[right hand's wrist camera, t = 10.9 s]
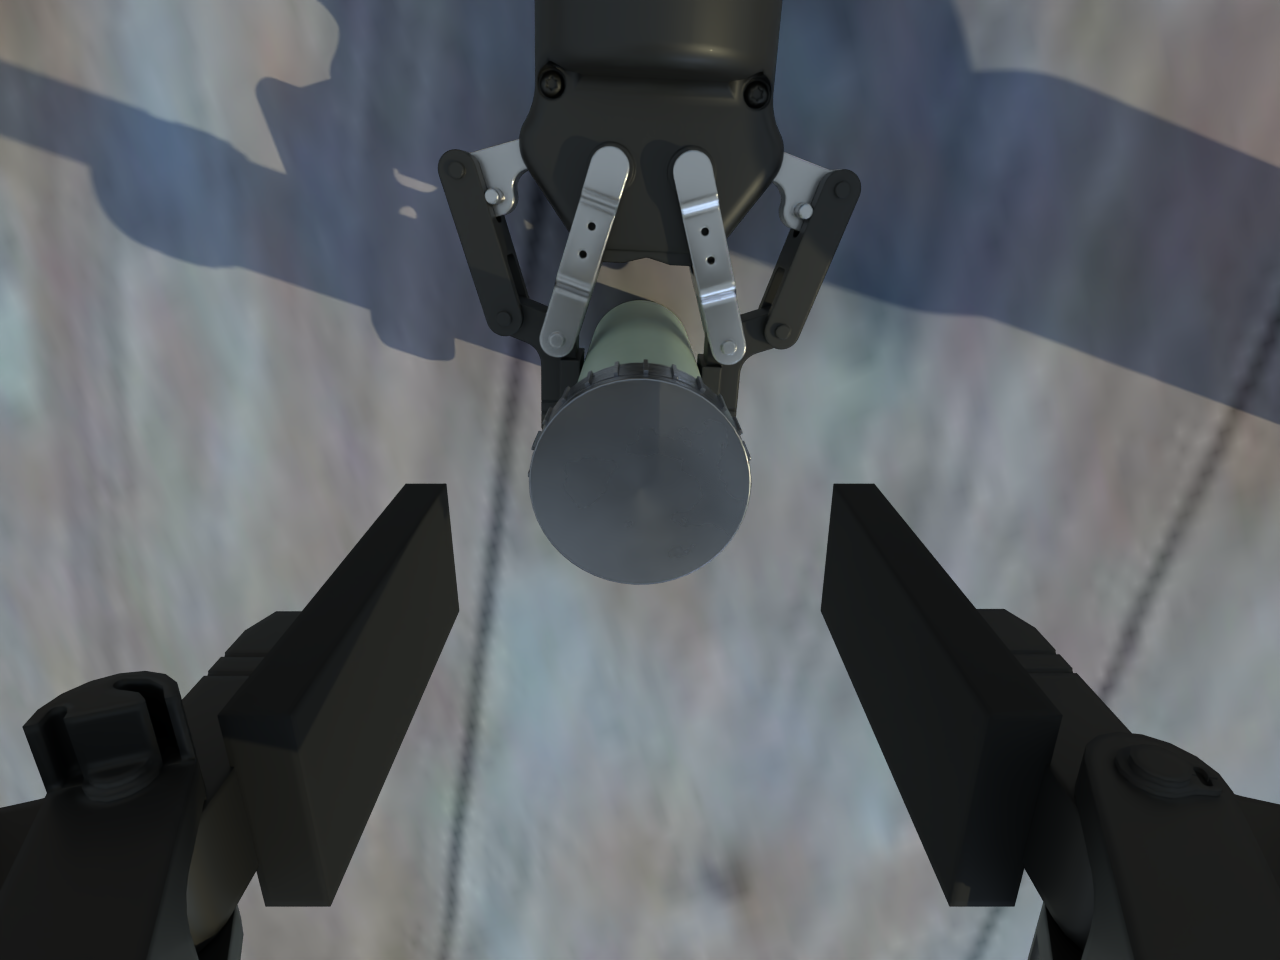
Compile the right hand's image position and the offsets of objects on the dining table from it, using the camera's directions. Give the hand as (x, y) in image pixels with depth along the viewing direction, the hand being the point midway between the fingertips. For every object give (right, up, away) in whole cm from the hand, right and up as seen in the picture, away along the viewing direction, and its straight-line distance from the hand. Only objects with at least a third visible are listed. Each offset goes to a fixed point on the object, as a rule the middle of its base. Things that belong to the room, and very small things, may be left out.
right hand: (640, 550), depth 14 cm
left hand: (0, +2, +14) cm, 14 cm away
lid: (0, +1, +3) cm, 4 cm away
